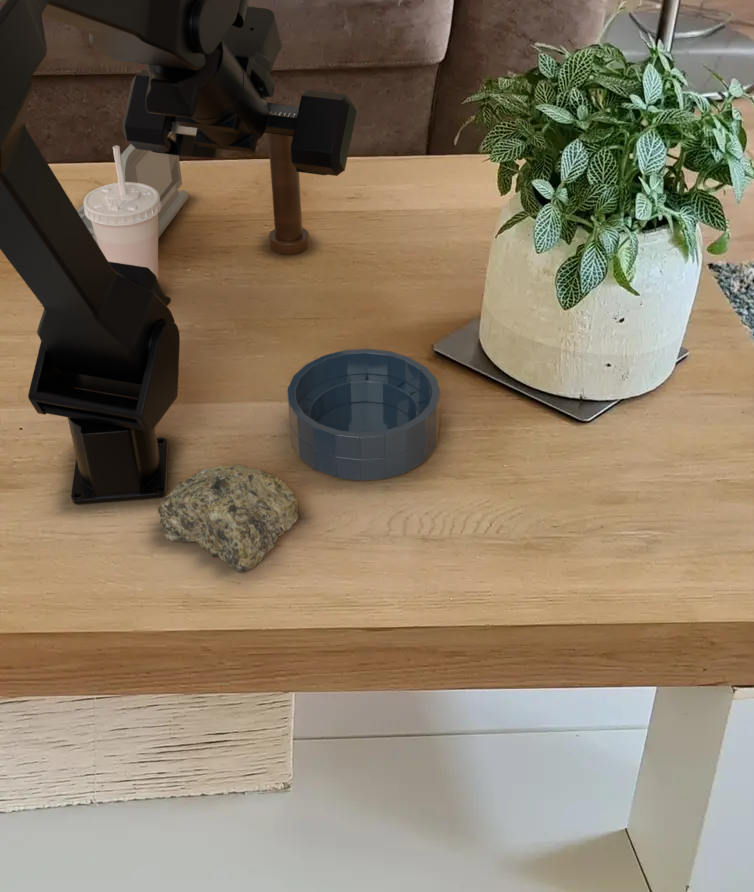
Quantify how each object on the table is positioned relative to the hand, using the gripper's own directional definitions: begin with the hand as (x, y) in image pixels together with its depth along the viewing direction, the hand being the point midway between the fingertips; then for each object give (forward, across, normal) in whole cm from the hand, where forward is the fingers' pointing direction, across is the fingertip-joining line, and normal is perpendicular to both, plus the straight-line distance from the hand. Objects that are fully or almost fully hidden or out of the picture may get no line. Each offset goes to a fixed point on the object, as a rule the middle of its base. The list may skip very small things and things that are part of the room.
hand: (269, 159), depth 103 cm
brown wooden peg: (+10, 0, +5) cm, 11 cm away
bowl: (-9, -16, +24) cm, 30 cm away
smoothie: (+1, +10, +14) cm, 17 cm away
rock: (-18, -10, +33) cm, 40 cm away
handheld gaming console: (+10, +17, +6) cm, 20 cm away
